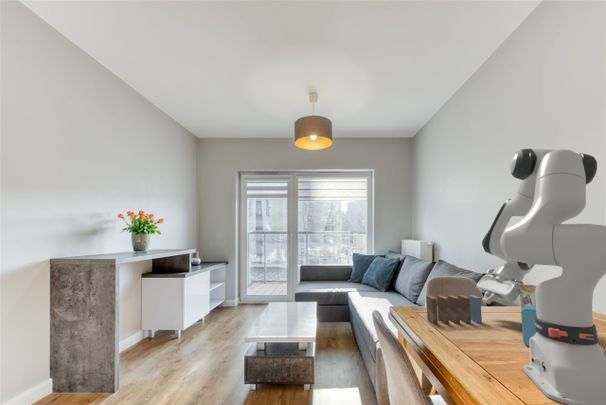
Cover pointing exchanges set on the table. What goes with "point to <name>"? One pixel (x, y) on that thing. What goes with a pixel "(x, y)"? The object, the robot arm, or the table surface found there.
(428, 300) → the domino
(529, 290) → the candy bar box
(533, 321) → the data package
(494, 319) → the table surface
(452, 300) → the domino
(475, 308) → the domino
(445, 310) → the domino
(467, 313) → the domino
